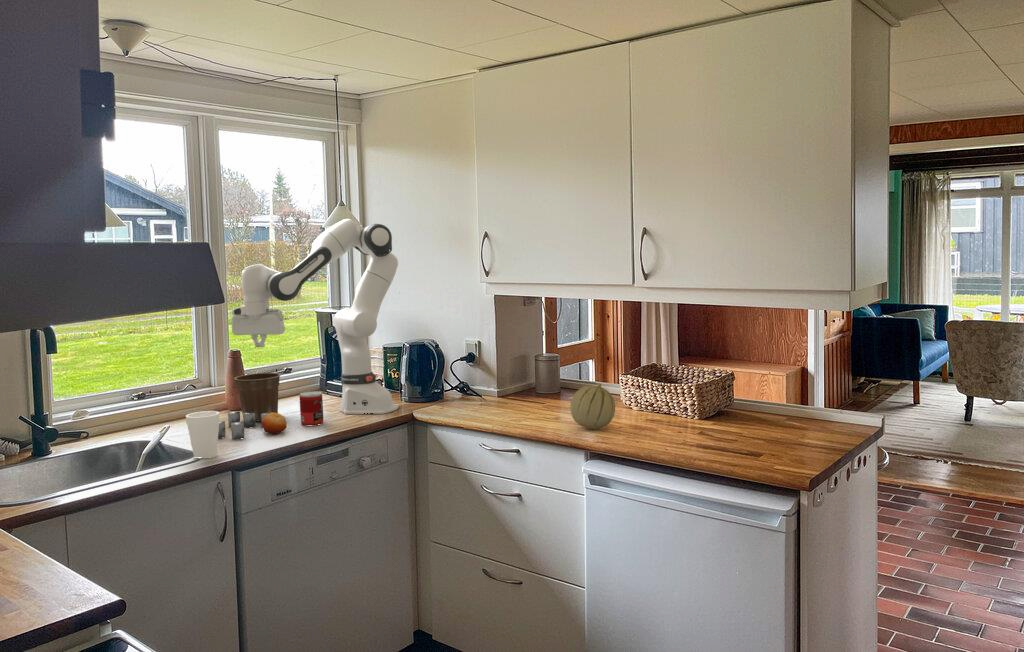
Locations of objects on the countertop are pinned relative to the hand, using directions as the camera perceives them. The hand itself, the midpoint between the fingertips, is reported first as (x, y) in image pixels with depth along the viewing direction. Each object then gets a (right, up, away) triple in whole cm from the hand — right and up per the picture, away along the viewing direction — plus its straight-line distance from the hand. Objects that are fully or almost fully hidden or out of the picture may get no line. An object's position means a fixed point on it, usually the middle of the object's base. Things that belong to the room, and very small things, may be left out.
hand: (259, 347), depth 285 cm
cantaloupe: (+119, -27, -27) cm, 125 cm away
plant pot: (-1, -27, +3) cm, 27 cm away
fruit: (+12, -29, -20) cm, 37 cm away
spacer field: (-3, -29, -16) cm, 33 cm away
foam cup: (-1, -32, -48) cm, 58 cm away
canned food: (+21, -27, -7) cm, 35 cm away
